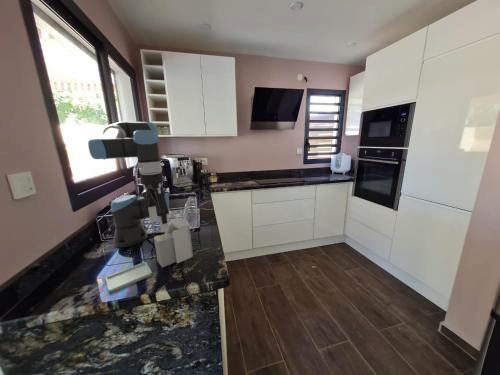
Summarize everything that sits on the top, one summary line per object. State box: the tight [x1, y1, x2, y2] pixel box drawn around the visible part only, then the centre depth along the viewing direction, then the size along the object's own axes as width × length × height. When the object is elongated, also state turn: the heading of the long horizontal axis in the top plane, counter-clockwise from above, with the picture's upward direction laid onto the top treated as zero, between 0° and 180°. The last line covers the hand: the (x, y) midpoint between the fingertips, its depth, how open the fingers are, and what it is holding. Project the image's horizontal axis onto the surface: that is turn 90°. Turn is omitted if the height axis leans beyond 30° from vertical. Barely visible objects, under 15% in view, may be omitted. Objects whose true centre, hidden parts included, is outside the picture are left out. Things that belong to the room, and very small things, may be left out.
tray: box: [104, 261, 153, 294], centre depth 73 cm, size 10×14×1 cm
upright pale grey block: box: [153, 232, 177, 268], centre depth 82 cm, size 6×10×11 cm, turn 131°
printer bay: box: [164, 217, 194, 264], centre depth 85 cm, size 11×7×15 cm, turn 41°
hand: (159, 226), depth 78 cm, fingers open, 13 cm apart
